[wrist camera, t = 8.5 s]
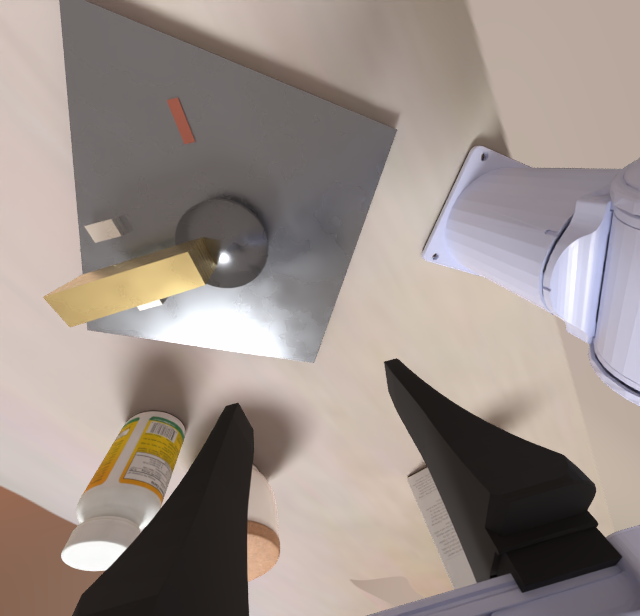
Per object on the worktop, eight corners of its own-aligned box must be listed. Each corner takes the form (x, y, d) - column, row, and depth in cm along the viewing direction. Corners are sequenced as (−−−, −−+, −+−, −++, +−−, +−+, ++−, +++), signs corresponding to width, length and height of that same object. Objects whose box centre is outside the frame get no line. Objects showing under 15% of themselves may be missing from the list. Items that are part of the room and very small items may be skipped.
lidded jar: (295, 456, 31) (302, 563, 22) (255, 507, 34) (249, 615, 26) (200, 435, 27) (167, 553, 19) (167, 495, 31) (128, 615, 22)
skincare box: (418, 489, 38) (473, 612, 27) (405, 477, 36) (458, 605, 26) (456, 469, 37) (528, 589, 26) (445, 455, 35) (518, 579, 25)
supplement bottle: (181, 406, 25) (132, 530, 16) (190, 444, 27) (153, 568, 19) (116, 411, 24) (31, 543, 16) (132, 449, 26) (66, 581, 18)
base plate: (392, 131, 17) (406, 126, 15) (312, 357, 24) (315, 373, 22) (70, -1, 12) (34, -30, 11) (94, 324, 20) (75, 340, 18)
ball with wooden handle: (249, 186, 15) (241, 192, 12) (280, 269, 18) (280, 294, 14) (70, 242, 15) (13, 264, 12) (126, 317, 18) (92, 352, 14)
